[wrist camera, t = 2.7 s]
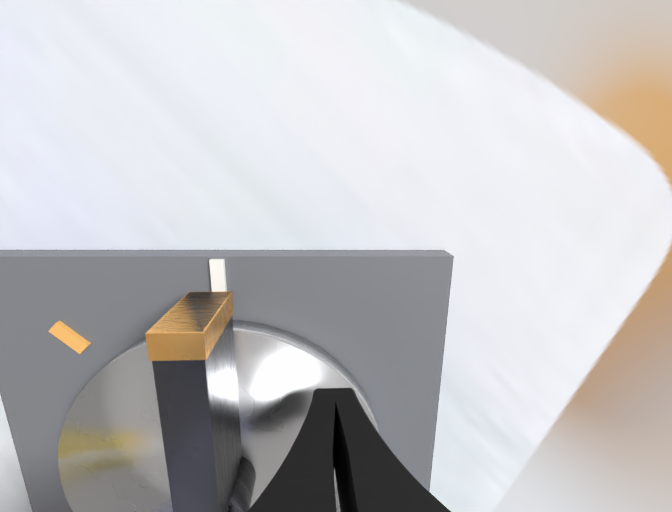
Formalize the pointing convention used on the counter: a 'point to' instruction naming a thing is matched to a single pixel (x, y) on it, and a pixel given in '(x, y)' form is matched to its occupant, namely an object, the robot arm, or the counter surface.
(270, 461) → the dial
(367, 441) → the robot arm
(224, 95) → the counter surface
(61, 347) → the dial plate
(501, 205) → the counter surface
